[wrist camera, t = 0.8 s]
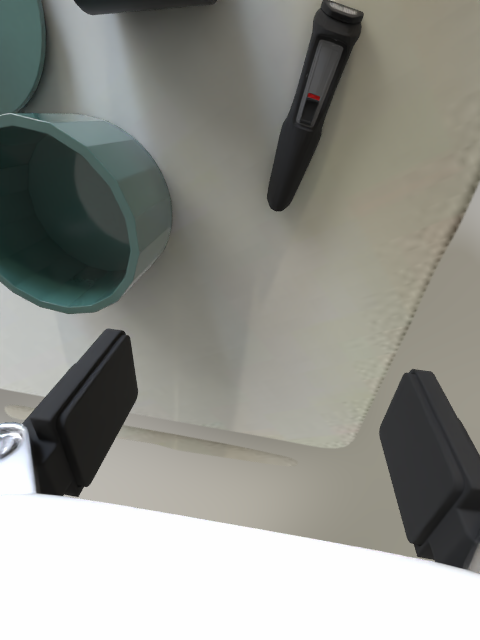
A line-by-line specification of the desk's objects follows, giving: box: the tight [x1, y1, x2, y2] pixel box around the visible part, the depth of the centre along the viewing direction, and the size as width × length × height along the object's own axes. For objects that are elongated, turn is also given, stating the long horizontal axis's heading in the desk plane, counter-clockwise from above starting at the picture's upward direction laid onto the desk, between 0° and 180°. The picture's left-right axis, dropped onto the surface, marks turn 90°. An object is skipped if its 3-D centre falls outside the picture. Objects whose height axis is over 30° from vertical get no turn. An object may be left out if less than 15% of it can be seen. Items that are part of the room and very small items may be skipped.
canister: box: [0, 113, 172, 314], centre depth 32 cm, size 17×17×10 cm
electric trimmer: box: [267, 0, 364, 211], centre depth 28 cm, size 4×16×3 cm, turn 163°
